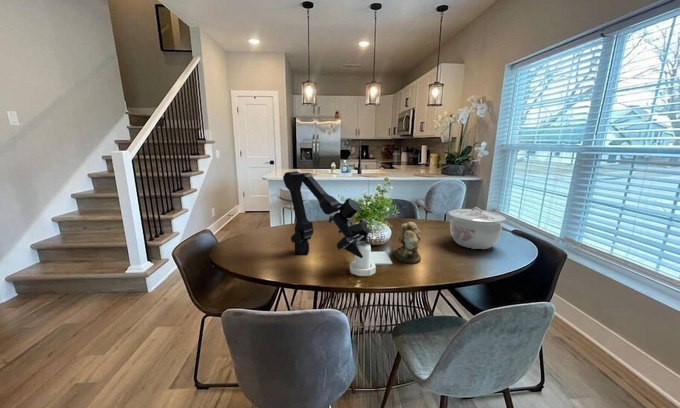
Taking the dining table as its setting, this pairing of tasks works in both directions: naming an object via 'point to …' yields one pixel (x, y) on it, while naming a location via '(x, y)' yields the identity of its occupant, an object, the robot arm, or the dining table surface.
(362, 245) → the can
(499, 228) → the chamber pot
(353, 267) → the ring
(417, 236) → the owl figurine
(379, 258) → the mat
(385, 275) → the dining table surface
